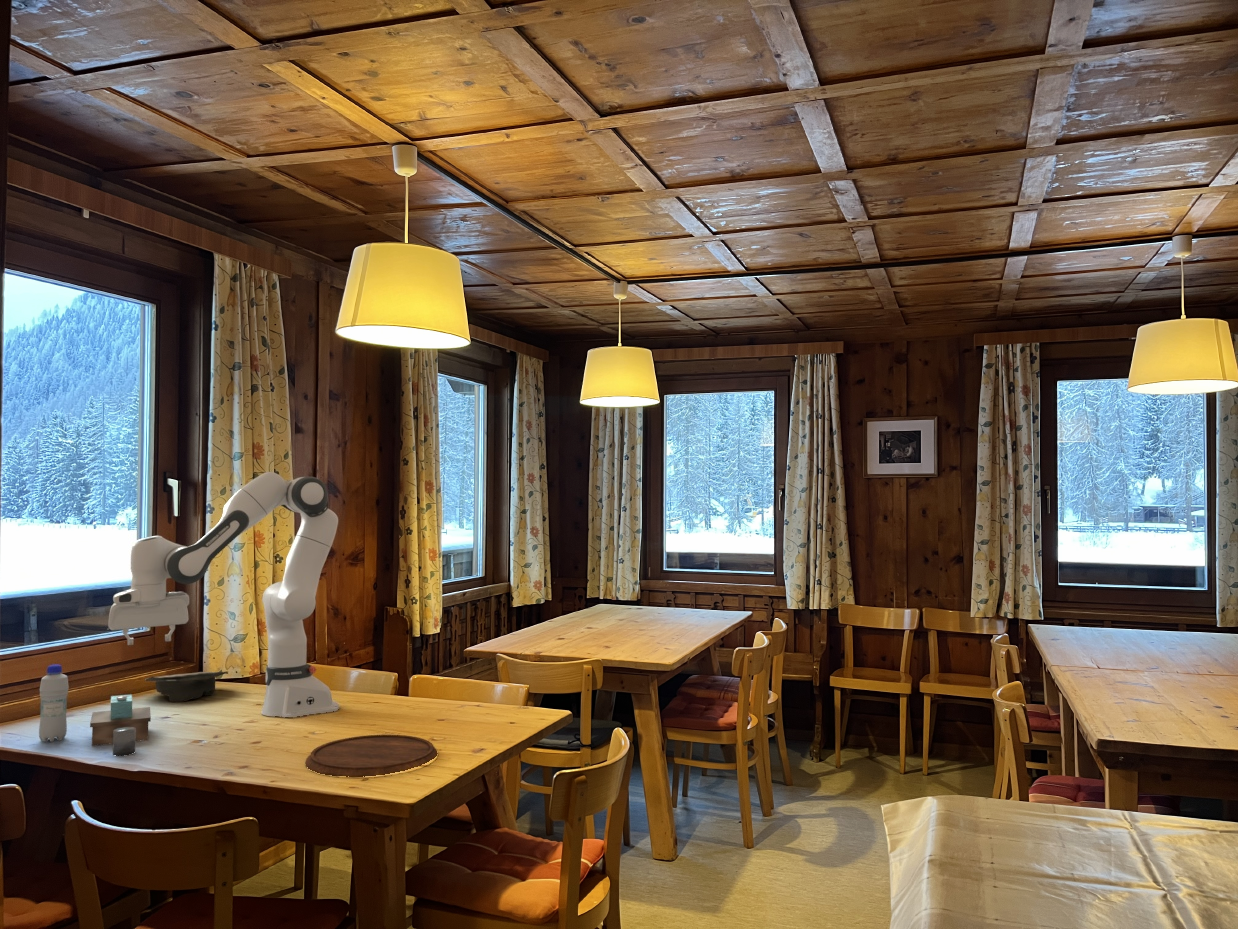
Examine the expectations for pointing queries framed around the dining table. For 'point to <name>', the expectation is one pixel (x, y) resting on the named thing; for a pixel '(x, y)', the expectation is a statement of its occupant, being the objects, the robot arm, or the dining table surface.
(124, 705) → the block
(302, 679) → the robot arm
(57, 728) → the bottle
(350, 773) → the cutting board
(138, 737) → the stand
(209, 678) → the stone bowl
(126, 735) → the tin
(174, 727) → the dining table surface
